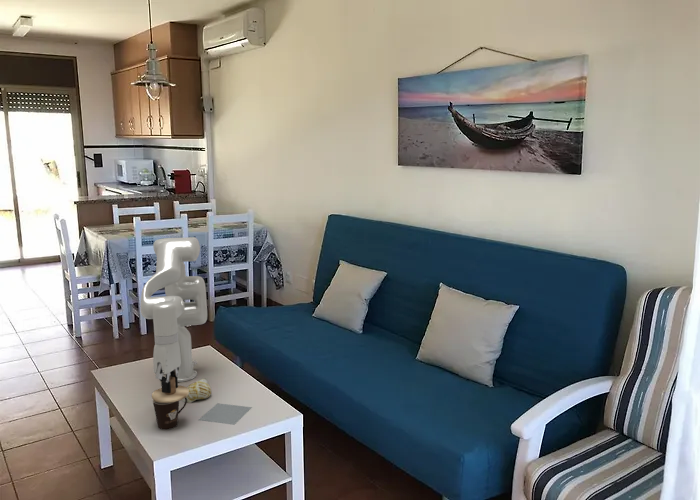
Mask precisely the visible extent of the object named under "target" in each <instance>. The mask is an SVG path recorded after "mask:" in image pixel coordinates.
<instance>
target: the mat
mask: <svg viewBox="0 0 700 500" xmlns="http://www.w3.org/2000/svg"><path fill="white" fill-rule="evenodd" d="M252 408H253V407H252V406H245V405H237V404H227V403H218V402H217V403H216V404H215V405H214V406H212V408H209V410H208V411H207V412H206V413H204V414H203V415H202V416H201V417H200V418H199V419H198V421H204V422H211V423H218V424H224V425H225V424H226V425H234V426H235V425H236V424H237V423H238V422H239V421H240V420H241V419H242V418H243V417H244V416H245V415H247V413H248V412H249V411H251V410H252Z"/></svg>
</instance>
